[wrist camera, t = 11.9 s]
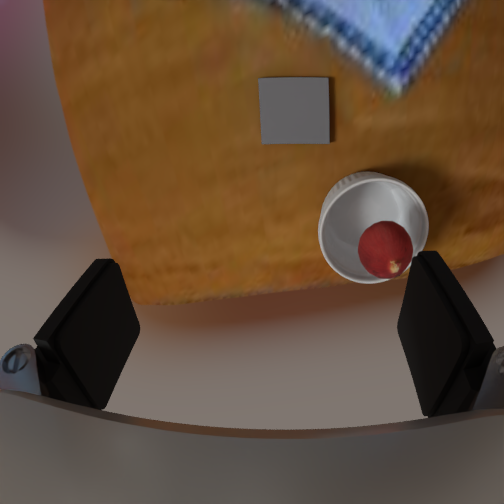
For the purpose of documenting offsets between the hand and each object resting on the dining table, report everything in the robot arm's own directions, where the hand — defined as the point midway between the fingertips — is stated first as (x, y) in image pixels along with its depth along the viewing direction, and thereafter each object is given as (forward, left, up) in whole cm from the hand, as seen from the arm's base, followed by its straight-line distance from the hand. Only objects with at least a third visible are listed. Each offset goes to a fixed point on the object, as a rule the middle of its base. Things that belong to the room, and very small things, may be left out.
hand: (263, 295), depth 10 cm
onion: (+9, +11, -25) cm, 28 cm away
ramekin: (+9, +11, -32) cm, 35 cm away
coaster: (-4, +2, -31) cm, 32 cm away
